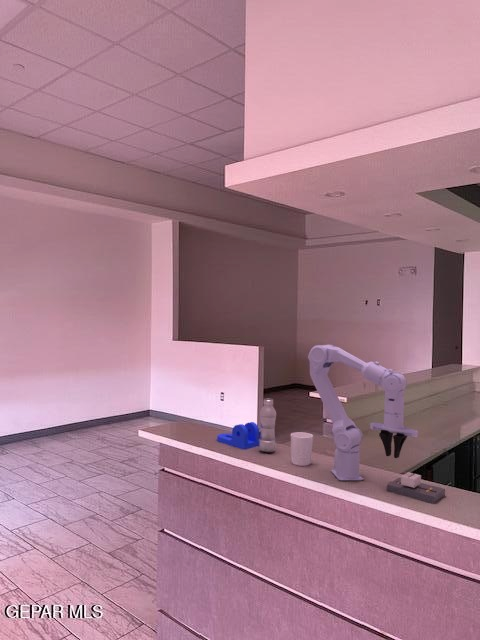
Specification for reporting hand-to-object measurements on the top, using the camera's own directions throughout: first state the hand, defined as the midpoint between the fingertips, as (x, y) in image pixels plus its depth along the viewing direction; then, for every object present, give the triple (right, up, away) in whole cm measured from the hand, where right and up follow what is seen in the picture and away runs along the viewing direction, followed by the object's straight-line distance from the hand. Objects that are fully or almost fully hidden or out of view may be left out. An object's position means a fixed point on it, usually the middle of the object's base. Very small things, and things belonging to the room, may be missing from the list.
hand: (392, 456), depth 151 cm
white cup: (-25, -9, +22) cm, 35 cm away
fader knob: (+4, -7, -4) cm, 9 cm away
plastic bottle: (-37, -8, +35) cm, 52 cm away
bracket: (-49, -8, +47) cm, 68 cm away
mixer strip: (+5, -10, -5) cm, 12 cm away
